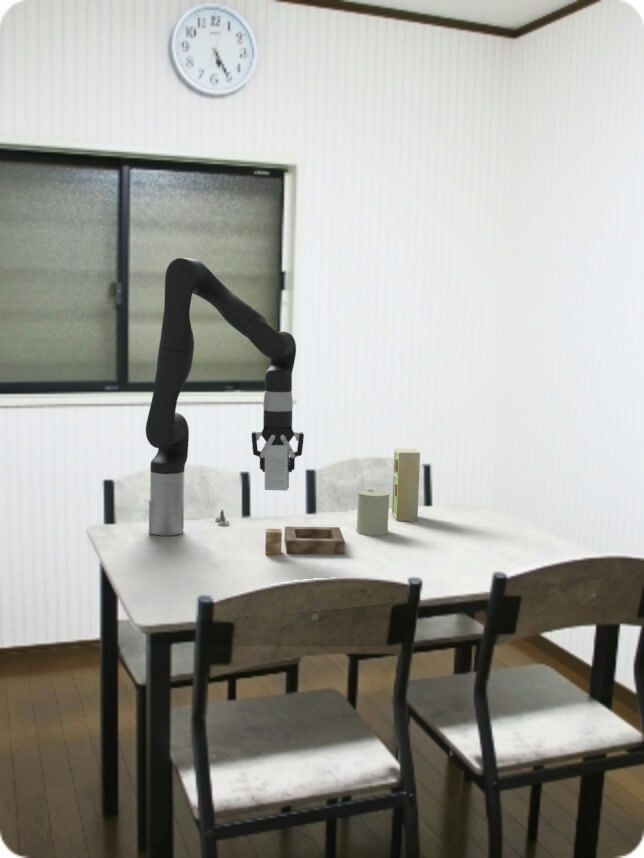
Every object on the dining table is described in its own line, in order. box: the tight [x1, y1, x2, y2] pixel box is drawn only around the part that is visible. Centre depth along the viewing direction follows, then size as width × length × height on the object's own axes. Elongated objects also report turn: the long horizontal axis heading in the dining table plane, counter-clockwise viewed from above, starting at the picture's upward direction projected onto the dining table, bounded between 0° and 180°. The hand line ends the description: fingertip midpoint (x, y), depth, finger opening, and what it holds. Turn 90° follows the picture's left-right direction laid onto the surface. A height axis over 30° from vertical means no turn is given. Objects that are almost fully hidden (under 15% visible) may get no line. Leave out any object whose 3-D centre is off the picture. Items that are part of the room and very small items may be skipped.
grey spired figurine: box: [215, 509, 230, 526], centre depth 265 cm, size 15×7×4 cm, turn 17°
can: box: [355, 488, 390, 537], centre depth 265 cm, size 9×9×12 cm
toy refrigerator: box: [391, 448, 421, 522], centre depth 283 cm, size 8×7×21 cm
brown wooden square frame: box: [284, 526, 346, 555], centre depth 247 cm, size 15×15×4 cm
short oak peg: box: [264, 528, 283, 556], centre depth 239 cm, size 4×4×6 cm
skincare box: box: [264, 445, 290, 492], centre depth 243 cm, size 6×4×12 cm
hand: (277, 471), depth 243 cm, fingers closed on skincare box, 6 cm apart
